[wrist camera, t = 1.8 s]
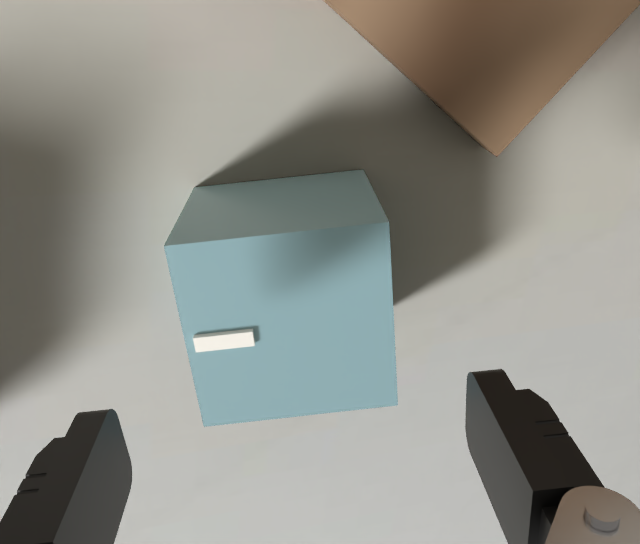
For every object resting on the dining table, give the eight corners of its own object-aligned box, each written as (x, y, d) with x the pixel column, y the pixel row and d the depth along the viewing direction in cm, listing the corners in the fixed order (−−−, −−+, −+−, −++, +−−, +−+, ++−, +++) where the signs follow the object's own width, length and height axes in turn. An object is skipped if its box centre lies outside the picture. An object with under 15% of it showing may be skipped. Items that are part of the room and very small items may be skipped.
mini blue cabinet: (363, 169, 22) (390, 224, 16) (372, 317, 25) (398, 408, 19) (194, 187, 22) (162, 248, 16) (222, 334, 24) (203, 430, 19)
